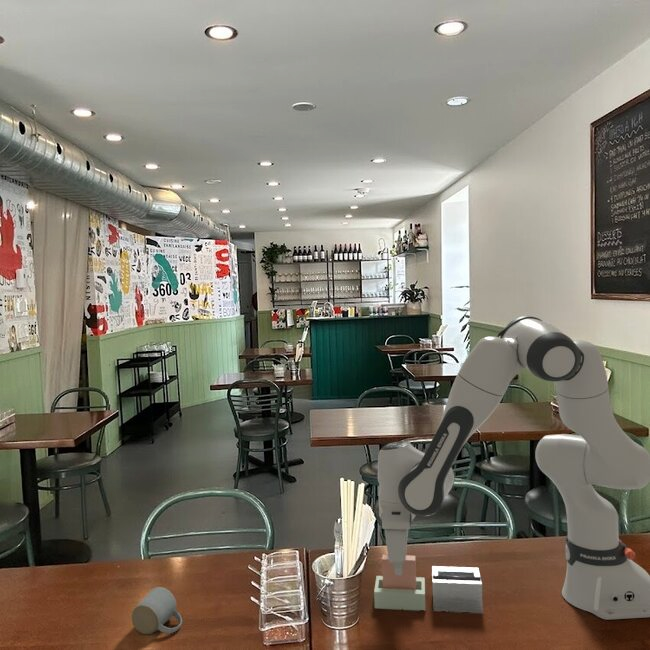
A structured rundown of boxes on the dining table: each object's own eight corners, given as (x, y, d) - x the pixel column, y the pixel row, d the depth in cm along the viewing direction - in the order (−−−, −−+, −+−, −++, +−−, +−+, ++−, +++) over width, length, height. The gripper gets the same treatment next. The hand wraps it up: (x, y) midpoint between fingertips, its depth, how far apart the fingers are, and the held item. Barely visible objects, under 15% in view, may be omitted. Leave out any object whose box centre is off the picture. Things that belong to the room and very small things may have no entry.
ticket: (416, 595, 140) (415, 555, 140) (416, 600, 138) (415, 560, 137) (384, 594, 142) (382, 554, 141) (383, 599, 139) (381, 559, 139)
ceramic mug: (129, 634, 130) (128, 602, 130) (150, 615, 138) (148, 584, 138) (170, 641, 127) (169, 608, 127) (189, 621, 135) (188, 589, 135)
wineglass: (343, 555, 165) (341, 515, 165) (359, 561, 162) (358, 519, 161) (331, 563, 161) (329, 521, 160) (347, 569, 157) (345, 526, 157)
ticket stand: (425, 593, 143) (424, 577, 143) (425, 610, 135) (424, 594, 135) (377, 591, 145) (376, 575, 145) (374, 608, 137) (374, 592, 137)
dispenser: (479, 595, 141) (478, 565, 140) (482, 613, 133) (481, 581, 132) (432, 593, 142) (431, 563, 142) (433, 611, 135) (432, 579, 134)
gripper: (386, 493, 149) (388, 545, 150) (381, 525, 129) (383, 584, 130) (410, 494, 148) (412, 546, 149) (409, 525, 128) (411, 585, 129)
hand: (399, 564), depth 139 cm, fingers open, 8 cm apart
